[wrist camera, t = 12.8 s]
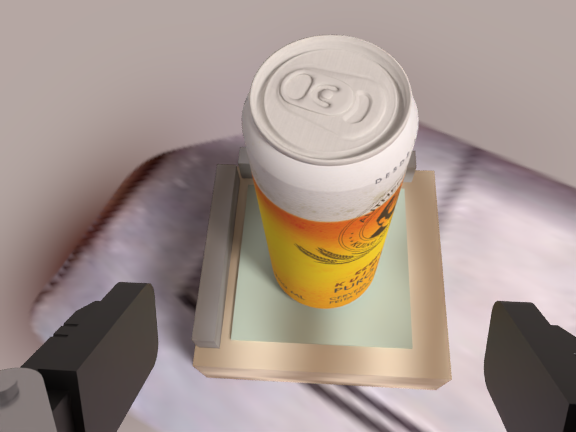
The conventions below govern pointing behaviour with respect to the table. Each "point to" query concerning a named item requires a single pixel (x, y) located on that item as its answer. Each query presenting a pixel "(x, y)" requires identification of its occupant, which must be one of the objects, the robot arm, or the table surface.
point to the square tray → (313, 321)
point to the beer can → (328, 161)
